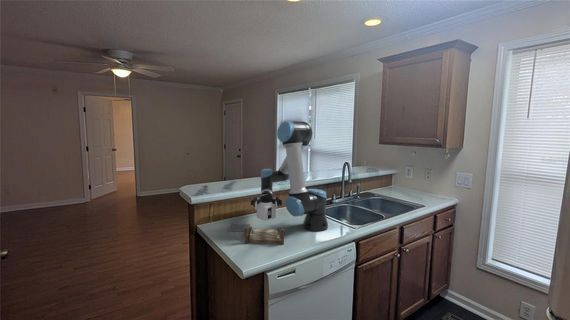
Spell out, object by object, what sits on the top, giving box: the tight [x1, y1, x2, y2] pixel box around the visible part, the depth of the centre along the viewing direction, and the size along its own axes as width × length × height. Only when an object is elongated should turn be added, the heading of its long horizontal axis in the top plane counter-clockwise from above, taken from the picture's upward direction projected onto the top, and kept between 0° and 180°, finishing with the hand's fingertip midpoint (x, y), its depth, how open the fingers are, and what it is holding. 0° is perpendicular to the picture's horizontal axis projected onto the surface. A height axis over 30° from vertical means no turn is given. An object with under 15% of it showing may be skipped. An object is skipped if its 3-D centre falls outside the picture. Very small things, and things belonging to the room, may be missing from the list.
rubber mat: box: [227, 223, 251, 233], centre depth 158 cm, size 11×11×1 cm
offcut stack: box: [249, 228, 280, 241], centre depth 141 cm, size 16×5×4 cm, turn 88°
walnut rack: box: [243, 226, 285, 246], centre depth 146 cm, size 21×17×8 cm
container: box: [256, 194, 277, 222], centre depth 149 cm, size 8×8×13 cm
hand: (266, 206), depth 145 cm, fingers closed on container, 10 cm apart
